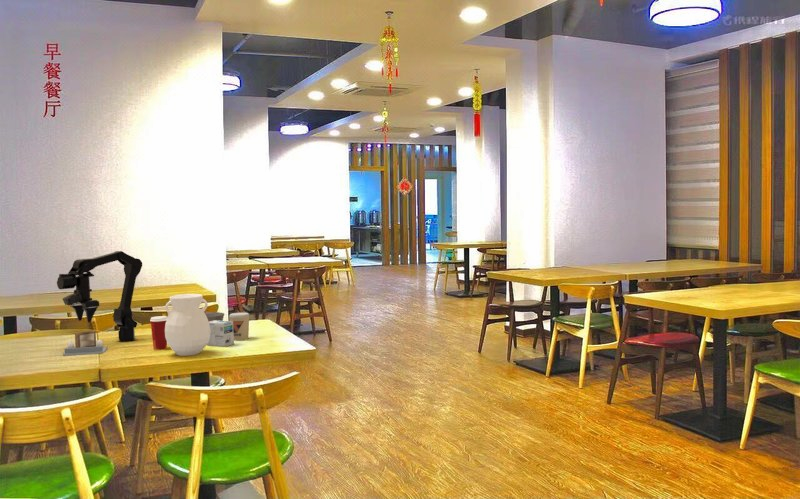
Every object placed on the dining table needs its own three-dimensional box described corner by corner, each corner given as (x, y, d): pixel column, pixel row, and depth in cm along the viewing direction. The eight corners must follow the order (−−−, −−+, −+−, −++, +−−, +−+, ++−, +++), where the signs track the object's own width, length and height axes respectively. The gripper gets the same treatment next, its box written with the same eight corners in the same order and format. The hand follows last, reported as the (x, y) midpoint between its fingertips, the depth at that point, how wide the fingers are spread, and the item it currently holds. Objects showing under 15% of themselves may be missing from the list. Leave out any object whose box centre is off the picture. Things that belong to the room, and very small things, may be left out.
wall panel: (107, 348, 305) (107, 337, 305) (103, 353, 294) (102, 342, 294) (68, 351, 301) (68, 340, 301) (63, 355, 290) (62, 344, 290)
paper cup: (172, 347, 305) (171, 316, 305) (161, 350, 298) (160, 318, 297) (158, 346, 308) (157, 315, 307) (146, 349, 301) (145, 318, 300)
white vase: (167, 360, 278) (165, 299, 276) (163, 352, 295) (161, 294, 293) (214, 355, 285) (212, 296, 284) (208, 347, 302) (206, 291, 301)
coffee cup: (225, 340, 320) (224, 314, 319) (237, 336, 328) (236, 312, 328) (242, 341, 316) (241, 315, 316) (254, 337, 325) (253, 312, 324)
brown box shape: (93, 346, 312) (92, 330, 312) (96, 346, 310) (95, 331, 310) (75, 348, 306) (74, 333, 306) (78, 349, 304) (77, 334, 304)
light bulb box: (234, 344, 309) (233, 320, 309) (224, 347, 303) (224, 323, 303) (215, 342, 314) (215, 319, 313) (206, 345, 308) (205, 321, 307)
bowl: (234, 332, 342) (233, 312, 341) (202, 339, 324) (201, 318, 324) (205, 329, 353) (204, 310, 352) (173, 335, 335) (172, 315, 335)
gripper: (55, 287, 307) (57, 322, 308) (73, 290, 295) (75, 325, 296) (80, 285, 315) (82, 318, 316) (99, 287, 303) (100, 322, 304)
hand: (84, 321), depth 308 cm, fingers open, 9 cm apart
